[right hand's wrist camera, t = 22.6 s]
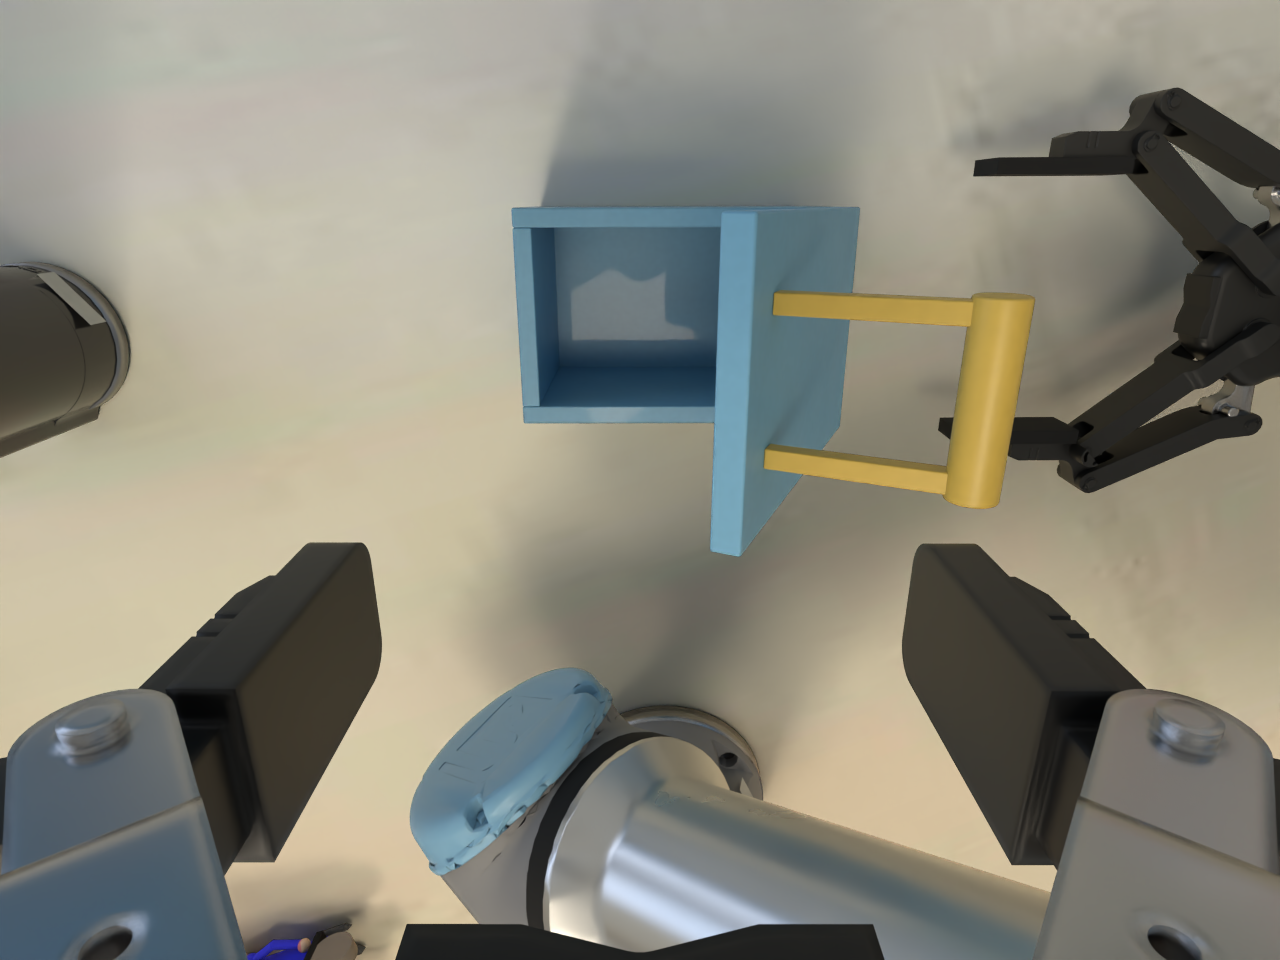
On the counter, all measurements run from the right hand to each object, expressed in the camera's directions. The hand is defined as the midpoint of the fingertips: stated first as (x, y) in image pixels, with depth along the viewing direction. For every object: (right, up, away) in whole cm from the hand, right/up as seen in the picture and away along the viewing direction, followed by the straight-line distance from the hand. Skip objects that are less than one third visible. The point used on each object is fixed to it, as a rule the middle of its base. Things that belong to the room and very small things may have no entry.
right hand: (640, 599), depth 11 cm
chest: (+2, +13, +35) cm, 38 cm away
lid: (+6, +7, +18) cm, 20 cm away
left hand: (+17, +11, +28) cm, 35 cm away
